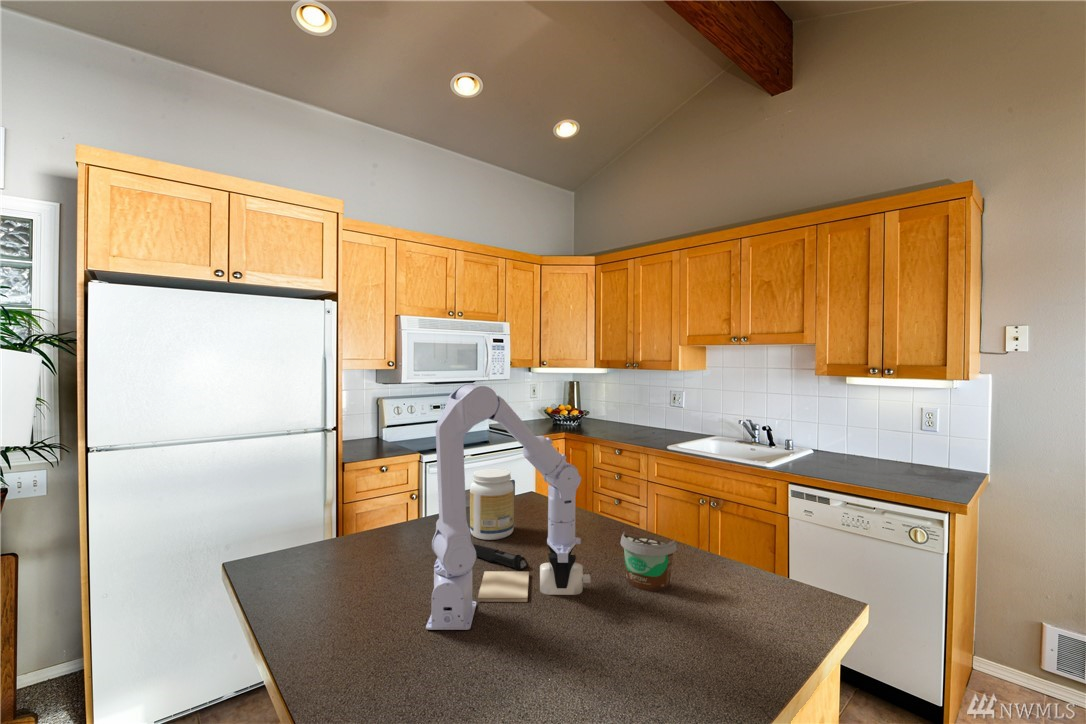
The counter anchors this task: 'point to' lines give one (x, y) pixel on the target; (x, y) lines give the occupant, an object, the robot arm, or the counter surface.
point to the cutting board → (504, 586)
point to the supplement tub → (491, 504)
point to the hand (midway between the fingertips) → (561, 582)
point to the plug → (573, 584)
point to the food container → (648, 562)
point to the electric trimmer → (501, 557)
